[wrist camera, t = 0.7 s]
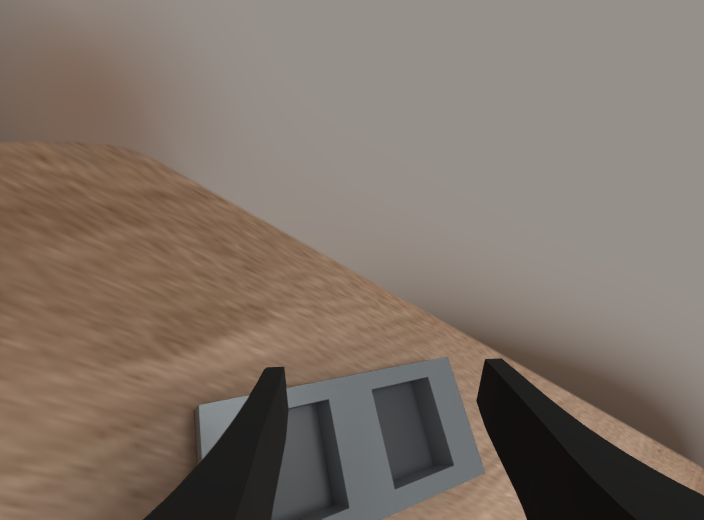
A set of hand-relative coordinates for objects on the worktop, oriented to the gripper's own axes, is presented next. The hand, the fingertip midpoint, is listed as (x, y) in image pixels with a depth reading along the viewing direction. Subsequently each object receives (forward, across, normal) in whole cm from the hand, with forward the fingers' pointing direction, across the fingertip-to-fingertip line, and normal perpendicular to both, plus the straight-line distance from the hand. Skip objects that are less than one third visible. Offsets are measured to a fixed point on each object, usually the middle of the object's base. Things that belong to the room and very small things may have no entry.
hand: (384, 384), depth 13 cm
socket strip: (+8, +1, +14) cm, 17 cm away
